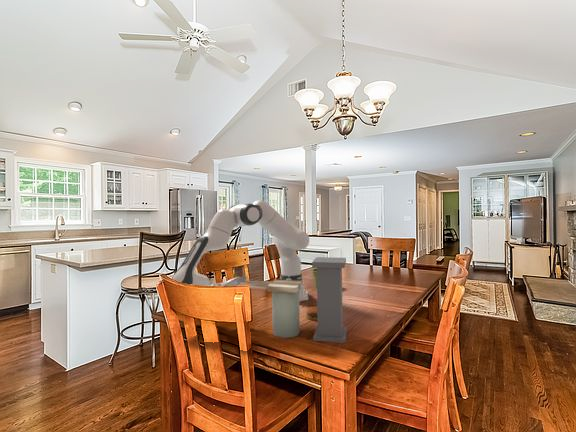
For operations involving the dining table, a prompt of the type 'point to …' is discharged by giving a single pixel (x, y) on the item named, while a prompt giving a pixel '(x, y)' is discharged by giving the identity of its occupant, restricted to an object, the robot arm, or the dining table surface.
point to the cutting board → (276, 285)
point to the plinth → (329, 300)
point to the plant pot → (315, 276)
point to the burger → (312, 313)
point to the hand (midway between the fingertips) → (241, 279)
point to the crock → (285, 314)
